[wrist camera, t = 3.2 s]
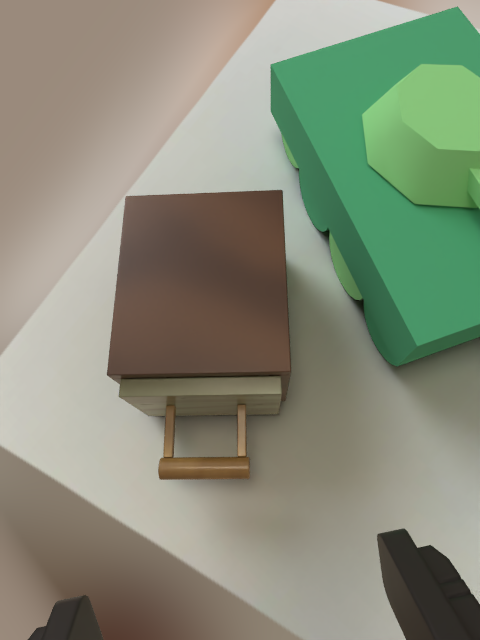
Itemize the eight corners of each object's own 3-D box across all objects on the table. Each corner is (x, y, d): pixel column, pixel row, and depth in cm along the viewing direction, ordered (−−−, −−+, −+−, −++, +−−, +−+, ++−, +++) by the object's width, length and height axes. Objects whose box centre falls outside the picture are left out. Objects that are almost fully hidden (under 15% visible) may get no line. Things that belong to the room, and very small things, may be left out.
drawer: (281, 480, 33) (285, 476, 26) (144, 481, 34) (110, 478, 27) (273, 272, 40) (275, 223, 32) (158, 276, 40) (134, 228, 33)
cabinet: (285, 401, 36) (291, 371, 27) (145, 403, 37) (106, 375, 28) (279, 255, 41) (282, 189, 32) (155, 259, 42) (125, 195, 33)
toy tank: (511, 462, 23) (270, 22, 35) (430, 471, 34) (270, 137, 47) (815, 347, 24) (475, -41, 36) (637, 394, 35) (426, 87, 48)
